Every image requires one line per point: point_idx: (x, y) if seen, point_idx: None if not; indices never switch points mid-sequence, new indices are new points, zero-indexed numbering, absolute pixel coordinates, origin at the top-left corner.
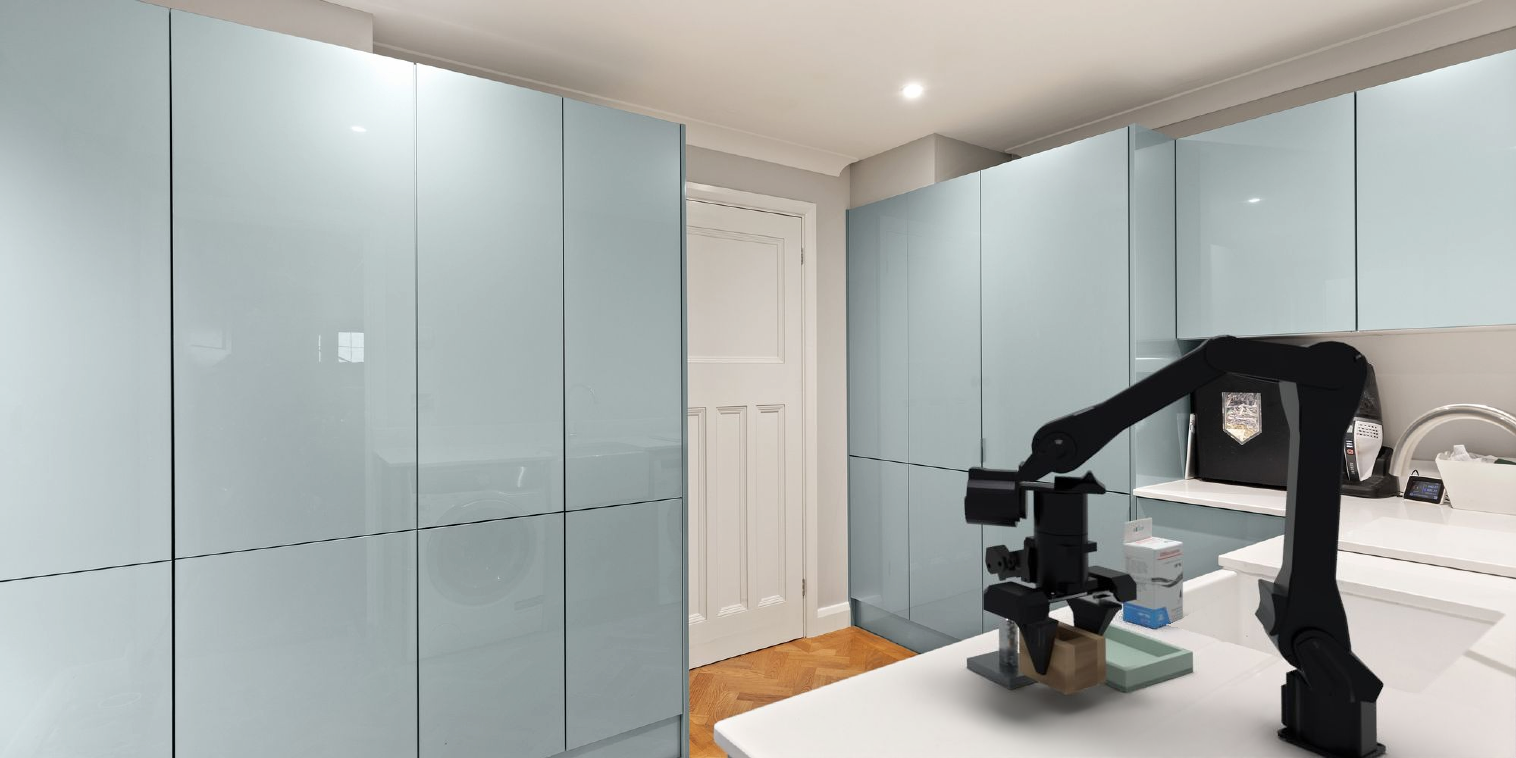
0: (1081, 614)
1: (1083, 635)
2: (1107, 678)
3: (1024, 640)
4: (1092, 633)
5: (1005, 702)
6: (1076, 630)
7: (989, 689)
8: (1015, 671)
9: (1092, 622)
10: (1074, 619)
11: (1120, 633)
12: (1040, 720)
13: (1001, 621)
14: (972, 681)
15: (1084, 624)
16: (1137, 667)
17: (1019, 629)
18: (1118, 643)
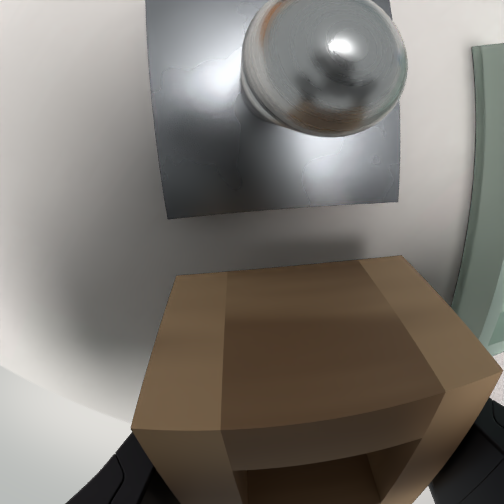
0: (489, 492)
1: (383, 496)
2: (463, 298)
3: (106, 464)
4: (423, 487)
5: (110, 271)
6: (415, 473)
7: (112, 181)
8: (241, 169)
9: (458, 500)
10: (492, 447)
11: None
12: (144, 365)
13: (259, 35)
14: (97, 108)
15: (463, 473)
16: (501, 352)
17: (70, 500)
18: None
